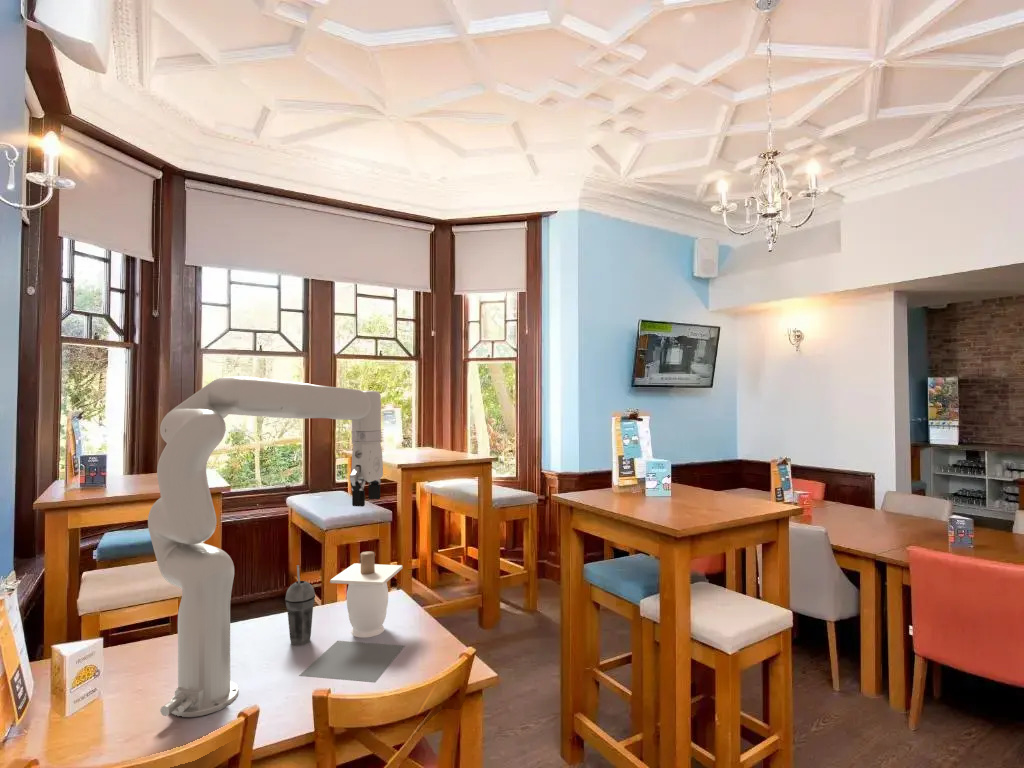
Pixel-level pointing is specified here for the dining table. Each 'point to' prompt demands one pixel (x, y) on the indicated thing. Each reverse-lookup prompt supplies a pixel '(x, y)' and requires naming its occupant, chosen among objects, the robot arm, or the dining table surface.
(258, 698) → the dining table surface
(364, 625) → the jar
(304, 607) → the beverage cup
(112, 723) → the dining table surface
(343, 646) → the mat
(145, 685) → the dining table surface
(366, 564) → the lid
